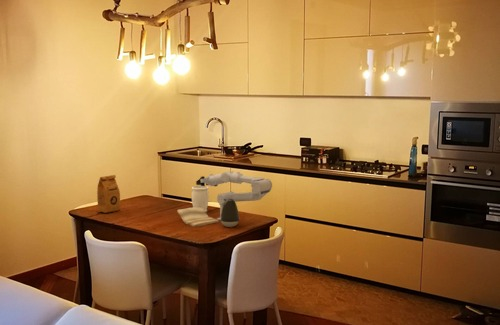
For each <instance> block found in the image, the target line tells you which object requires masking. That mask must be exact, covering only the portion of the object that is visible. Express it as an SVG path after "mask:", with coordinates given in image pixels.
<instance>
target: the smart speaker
mask: <svg viewBox="0 0 500 325" xmlns="http://www.w3.org/2000/svg"><path fill="white" fill-rule="evenodd" d="M224 201H225V203H224V205H223V208H222V211H221V220H220V222H221V224H222V225H223V226H224V227H226V228H234V227H236V226H237V225H238V224H239V222H240V212H239V208H238V205H237V202H235V201H234V200H233V199H227V200H226V199H224Z"/></svg>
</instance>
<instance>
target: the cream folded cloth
mask: <svg viewBox="0 0 500 325" xmlns="http://www.w3.org/2000/svg"><path fill="white" fill-rule="evenodd" d="M176 211H177V213H178V215H179V216H180V218H181V219H182V221H183V223H184V224H186V221H191V220H196V219H202V218H207V217H209V215H208V214H207V211H206V212H205V211H204V209H203V208H202V206H198V207H193V206H192V207H187V208H181V209H177V210H176Z"/></svg>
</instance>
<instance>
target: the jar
mask: <svg viewBox="0 0 500 325" xmlns="http://www.w3.org/2000/svg"><path fill="white" fill-rule="evenodd" d="M209 187H210V186H209V185H205V186H201V185H195V186H191V188H190V189H191V190H192V191H191V203H192V207H198V206H202V208H203V209H204V211H205V212H206V213H207V212H208V209H207V208H208V206H209V199H210V194H209Z"/></svg>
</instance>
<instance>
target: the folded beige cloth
mask: <svg viewBox="0 0 500 325" xmlns="http://www.w3.org/2000/svg"><path fill="white" fill-rule="evenodd" d="M216 223H220V220H219V219H217V218H214V217H211V216H208V217H207V218H202V219H196V220H191V221H186V223H185V224H186V225H189V226H191V227H193V228H194V227H195V228H196V227H201V226H207V225H211V224H216Z"/></svg>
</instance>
